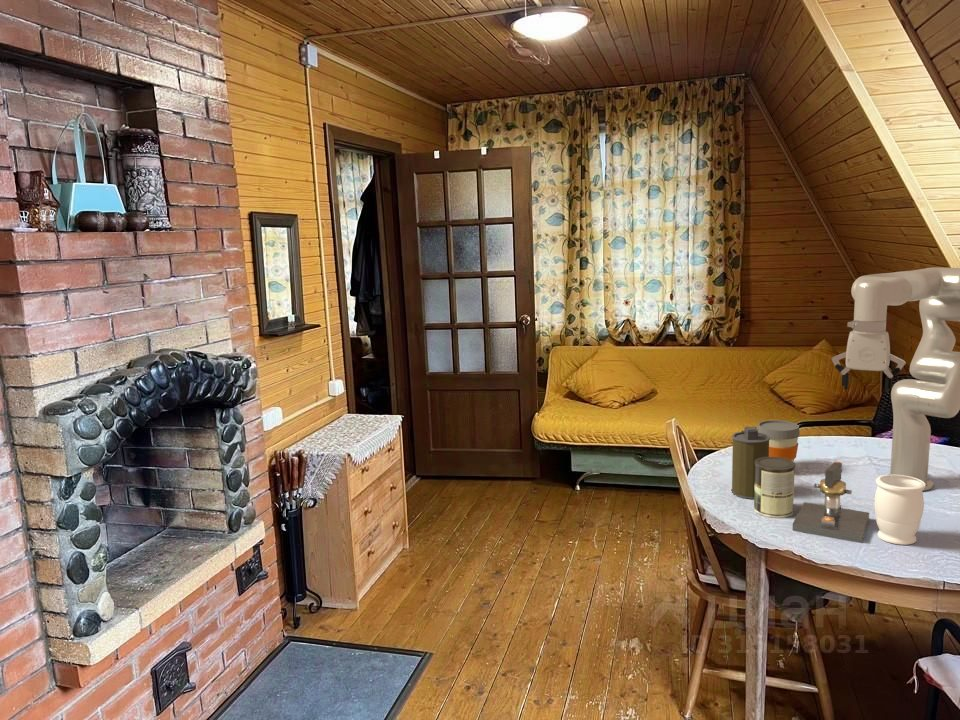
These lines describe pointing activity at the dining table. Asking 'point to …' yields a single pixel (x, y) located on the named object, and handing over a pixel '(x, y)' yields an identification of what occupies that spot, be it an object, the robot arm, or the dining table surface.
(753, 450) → the canister
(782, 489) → the coffee can
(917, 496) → the jar
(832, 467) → the latch lever
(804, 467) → the dining table surface
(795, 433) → the reusable coffee cup
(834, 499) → the lever latch plate
